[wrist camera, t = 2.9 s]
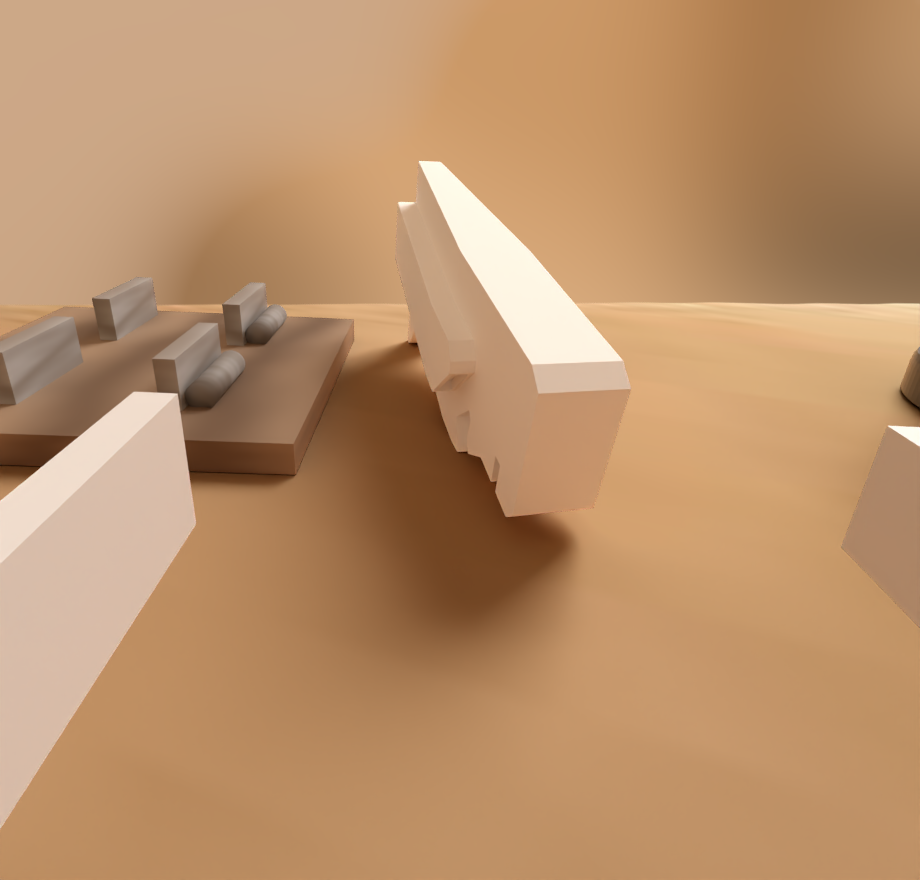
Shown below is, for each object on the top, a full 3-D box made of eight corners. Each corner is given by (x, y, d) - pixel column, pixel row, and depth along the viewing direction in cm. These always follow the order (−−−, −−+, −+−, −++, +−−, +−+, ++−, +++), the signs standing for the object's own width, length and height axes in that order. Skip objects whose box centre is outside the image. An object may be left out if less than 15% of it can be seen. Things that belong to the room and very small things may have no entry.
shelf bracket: (453, 341, 47) (472, 163, 40) (582, 614, 28) (665, 374, 21) (380, 343, 46) (385, 159, 38) (463, 631, 27) (507, 381, 19)
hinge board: (354, 339, 46) (352, 284, 44) (295, 474, 28) (289, 389, 26) (69, 327, 45) (57, 270, 43) (-183, 458, 27) (-222, 368, 25)
